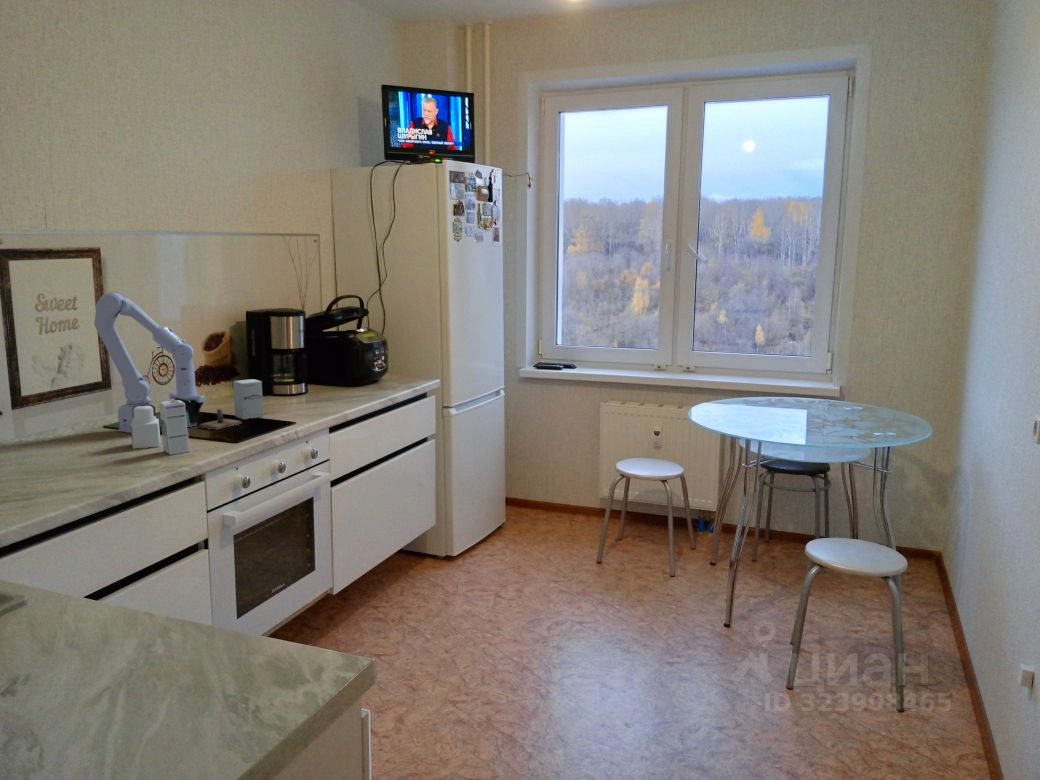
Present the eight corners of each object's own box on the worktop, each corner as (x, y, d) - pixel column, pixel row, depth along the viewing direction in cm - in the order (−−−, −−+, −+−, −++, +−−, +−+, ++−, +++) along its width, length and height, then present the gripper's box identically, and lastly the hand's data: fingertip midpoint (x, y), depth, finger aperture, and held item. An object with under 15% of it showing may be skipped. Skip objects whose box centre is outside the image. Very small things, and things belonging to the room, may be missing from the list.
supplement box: (243, 420, 262) (240, 383, 260) (234, 416, 268) (232, 380, 266) (264, 417, 267) (262, 380, 265) (255, 413, 273) (253, 378, 270)
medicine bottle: (134, 443, 230) (130, 404, 228) (160, 441, 233) (157, 402, 231) (132, 449, 224) (129, 408, 221) (159, 446, 226) (156, 406, 224)
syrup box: (190, 452, 221) (186, 402, 218) (168, 455, 217) (164, 404, 214) (184, 448, 225) (180, 399, 222) (162, 451, 221) (158, 401, 219)
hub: (188, 428, 250) (186, 413, 249) (179, 426, 252) (177, 411, 251) (198, 425, 254) (197, 410, 253) (189, 424, 256) (188, 409, 255)
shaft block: (217, 430, 247) (215, 413, 246) (199, 427, 251) (198, 411, 250) (241, 424, 256) (240, 408, 255) (224, 422, 259) (223, 405, 258)
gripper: (211, 380, 250) (214, 422, 253) (180, 377, 257) (183, 417, 259) (193, 384, 244) (196, 426, 247) (162, 380, 251) (165, 421, 253)
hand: (188, 422), depth 253 cm, fingers closed on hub, 4 cm apart
